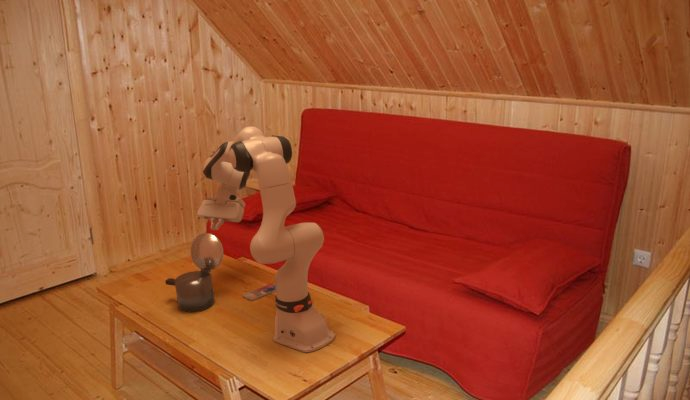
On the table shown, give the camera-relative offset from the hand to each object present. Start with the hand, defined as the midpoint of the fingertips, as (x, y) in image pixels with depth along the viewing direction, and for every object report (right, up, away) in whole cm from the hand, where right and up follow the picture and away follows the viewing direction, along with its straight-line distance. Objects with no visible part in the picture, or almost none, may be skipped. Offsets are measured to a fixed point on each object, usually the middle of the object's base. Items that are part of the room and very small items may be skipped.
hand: (214, 229), depth 229 cm
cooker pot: (-8, -29, -6) cm, 31 cm away
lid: (-2, -9, -4) cm, 10 cm away
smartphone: (+20, -26, 0) cm, 33 cm away
